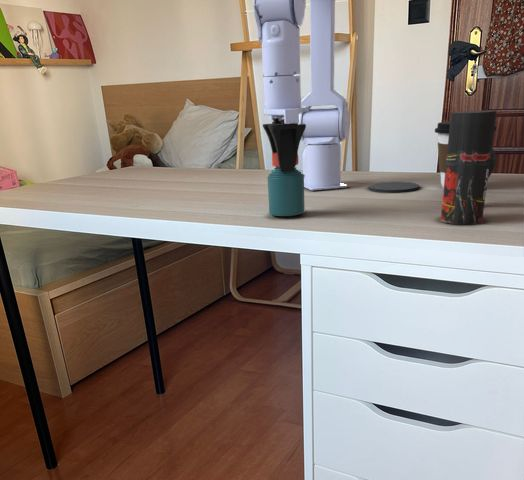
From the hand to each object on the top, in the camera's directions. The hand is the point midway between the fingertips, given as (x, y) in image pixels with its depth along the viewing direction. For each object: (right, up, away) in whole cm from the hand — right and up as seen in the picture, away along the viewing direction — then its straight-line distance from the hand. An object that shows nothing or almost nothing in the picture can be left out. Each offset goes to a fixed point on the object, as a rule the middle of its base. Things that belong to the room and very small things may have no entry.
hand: (284, 169), depth 86 cm
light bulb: (+31, -6, +2) cm, 32 cm away
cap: (0, +2, -1) cm, 2 cm away
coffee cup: (+35, +3, +18) cm, 40 cm away
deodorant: (+26, -10, -7) cm, 29 cm away
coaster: (+23, +4, +21) cm, 32 cm away
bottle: (0, -6, +3) cm, 7 cm away
